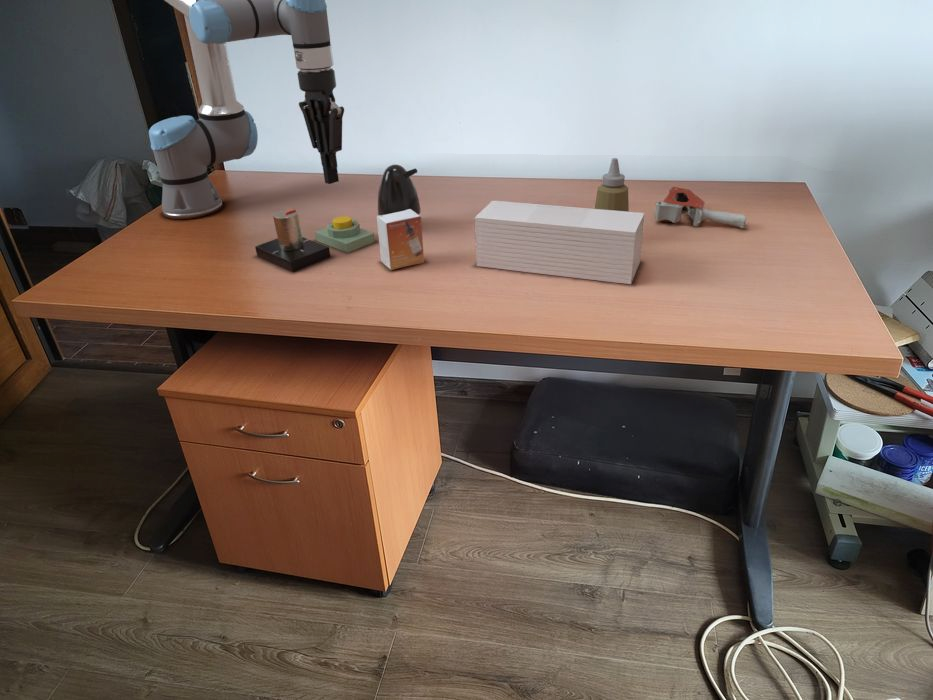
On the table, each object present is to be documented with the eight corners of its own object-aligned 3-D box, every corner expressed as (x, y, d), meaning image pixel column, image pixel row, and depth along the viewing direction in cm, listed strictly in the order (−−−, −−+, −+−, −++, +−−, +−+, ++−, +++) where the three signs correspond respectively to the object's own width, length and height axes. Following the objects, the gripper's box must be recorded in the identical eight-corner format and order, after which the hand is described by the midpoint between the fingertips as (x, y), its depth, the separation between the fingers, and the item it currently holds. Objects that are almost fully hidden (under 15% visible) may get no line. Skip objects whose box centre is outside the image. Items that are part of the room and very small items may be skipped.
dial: (288, 252, 145) (281, 218, 141) (275, 247, 148) (268, 213, 144) (308, 245, 148) (302, 211, 144) (294, 240, 151) (288, 206, 147)
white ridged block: (639, 262, 138) (644, 212, 133) (630, 284, 130) (635, 232, 124) (493, 247, 149) (492, 200, 143) (476, 266, 141) (474, 217, 135)
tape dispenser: (749, 235, 152) (698, 203, 167) (755, 213, 149) (702, 182, 165) (682, 244, 147) (636, 210, 163) (687, 221, 144) (639, 189, 160)
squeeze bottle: (631, 235, 151) (638, 155, 142) (623, 248, 145) (629, 165, 136) (596, 231, 154) (601, 152, 145) (586, 243, 148) (590, 162, 139)
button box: (316, 240, 157) (313, 224, 155) (343, 230, 162) (340, 214, 160) (347, 252, 150) (345, 236, 148) (375, 241, 155) (373, 225, 153)
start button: (329, 227, 154) (328, 220, 153) (344, 221, 157) (343, 214, 156) (341, 231, 152) (340, 224, 151) (356, 225, 154) (355, 218, 153)
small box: (390, 271, 140) (385, 223, 135) (380, 262, 145) (375, 215, 139) (425, 262, 143) (421, 215, 138) (414, 254, 148) (410, 208, 142)
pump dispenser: (416, 235, 157) (410, 171, 149) (374, 234, 159) (366, 171, 151) (427, 220, 165) (422, 158, 158) (387, 219, 167) (380, 158, 160)
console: (257, 256, 151) (254, 245, 149) (294, 243, 157) (292, 232, 155) (292, 272, 142) (290, 261, 141) (330, 257, 148) (328, 246, 147)
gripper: (281, 69, 139) (301, 180, 151) (319, 74, 131) (336, 192, 143) (311, 63, 143) (327, 172, 156) (349, 68, 135) (363, 183, 148)
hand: (332, 181), depth 149 cm, fingers closed
